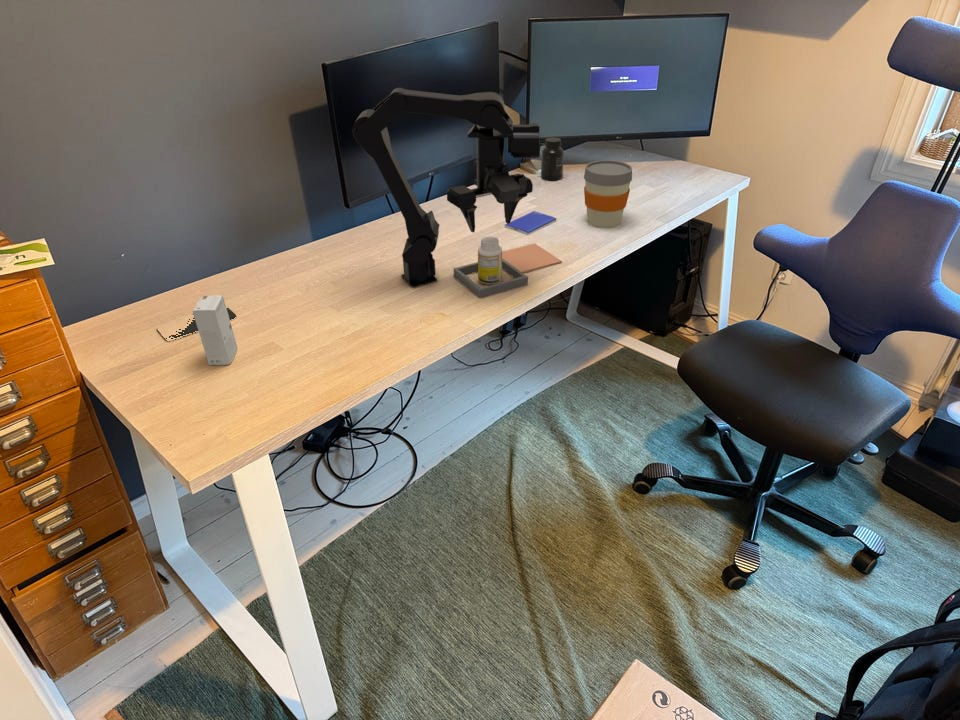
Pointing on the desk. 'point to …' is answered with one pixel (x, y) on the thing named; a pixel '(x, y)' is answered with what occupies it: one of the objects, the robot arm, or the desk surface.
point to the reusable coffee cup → (606, 192)
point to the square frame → (492, 289)
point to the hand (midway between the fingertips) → (490, 227)
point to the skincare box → (215, 330)
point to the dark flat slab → (193, 325)
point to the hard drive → (530, 222)
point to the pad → (529, 258)
